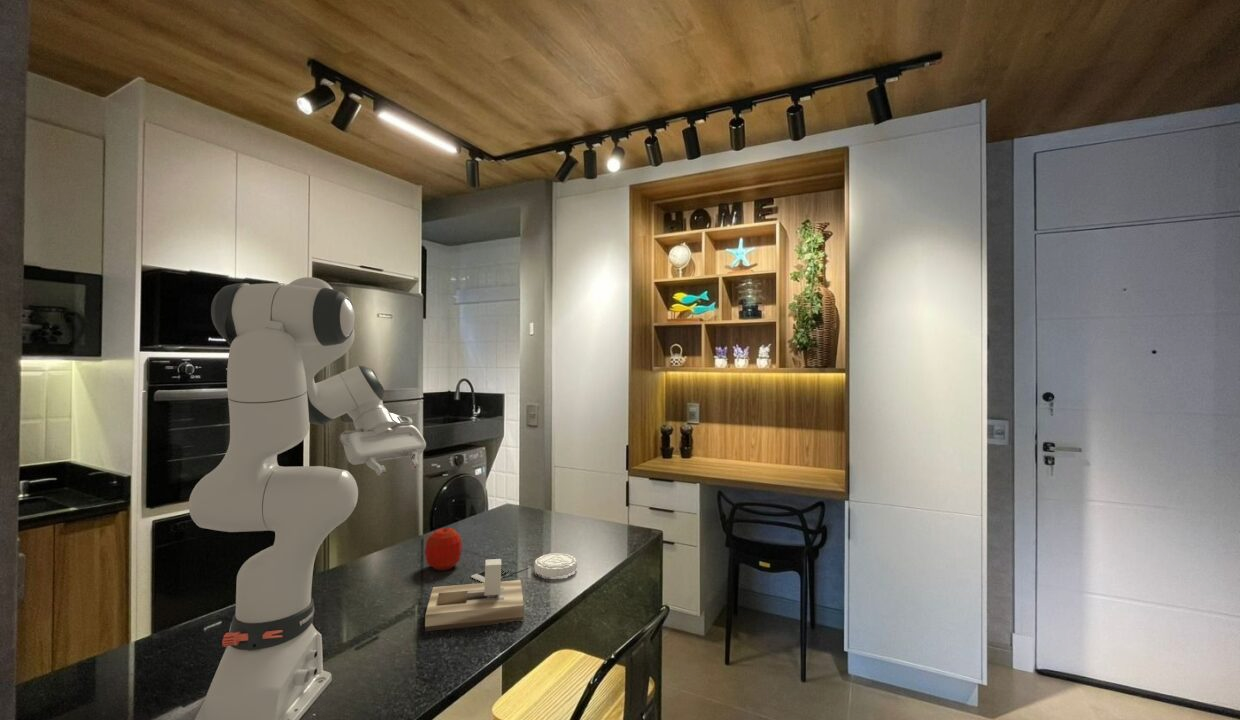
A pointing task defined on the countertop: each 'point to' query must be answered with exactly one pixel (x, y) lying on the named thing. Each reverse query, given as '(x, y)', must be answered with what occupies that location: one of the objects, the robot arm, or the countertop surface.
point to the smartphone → (481, 576)
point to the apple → (443, 548)
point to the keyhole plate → (473, 606)
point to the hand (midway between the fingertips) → (399, 470)
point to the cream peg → (492, 578)
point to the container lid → (555, 564)
